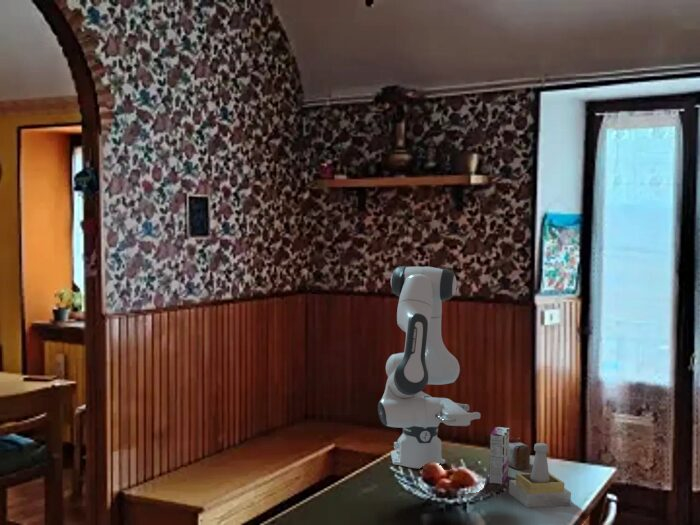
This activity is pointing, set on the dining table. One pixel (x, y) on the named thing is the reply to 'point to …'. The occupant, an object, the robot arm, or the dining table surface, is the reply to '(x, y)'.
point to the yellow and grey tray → (539, 491)
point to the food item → (518, 454)
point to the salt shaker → (540, 464)
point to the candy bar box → (499, 455)
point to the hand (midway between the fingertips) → (474, 411)
